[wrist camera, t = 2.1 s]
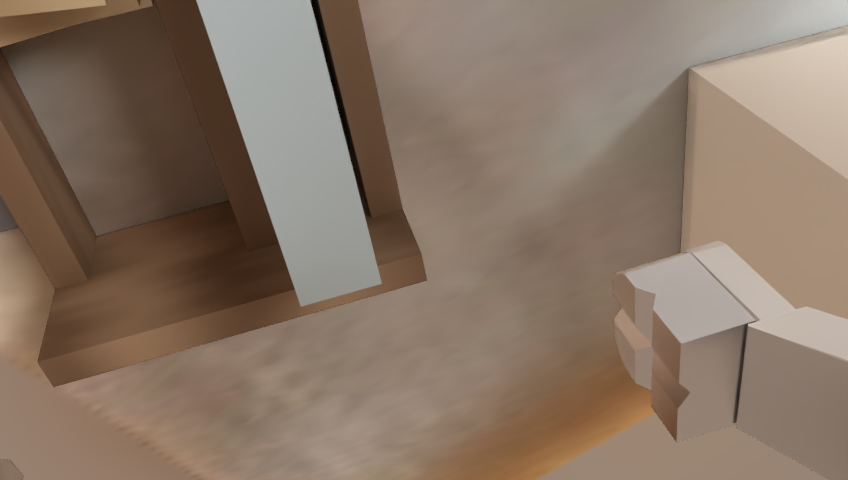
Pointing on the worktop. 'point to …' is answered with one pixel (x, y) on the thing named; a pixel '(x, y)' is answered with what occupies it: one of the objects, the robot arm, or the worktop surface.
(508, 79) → the worktop surface
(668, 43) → the worktop surface
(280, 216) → the pale blue-grey board
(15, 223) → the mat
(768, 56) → the open white box
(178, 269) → the rack
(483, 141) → the worktop surface
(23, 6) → the offcut short
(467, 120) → the worktop surface
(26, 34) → the offcut mid
